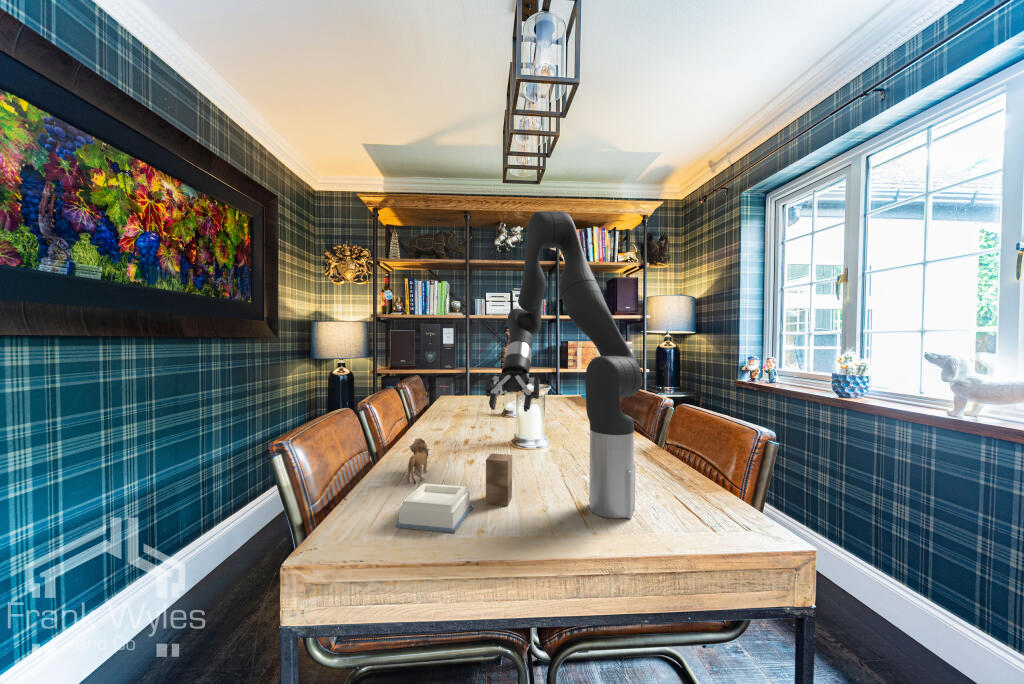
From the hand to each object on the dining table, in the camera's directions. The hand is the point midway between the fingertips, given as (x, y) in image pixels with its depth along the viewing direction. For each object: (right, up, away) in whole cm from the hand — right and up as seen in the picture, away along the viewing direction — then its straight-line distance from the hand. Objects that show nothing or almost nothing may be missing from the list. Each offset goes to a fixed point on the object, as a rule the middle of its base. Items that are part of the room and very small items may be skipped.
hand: (508, 409), depth 104 cm
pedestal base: (-15, -19, -20) cm, 31 cm away
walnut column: (-2, -19, -11) cm, 22 cm away
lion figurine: (-25, -19, +5) cm, 32 cm away
